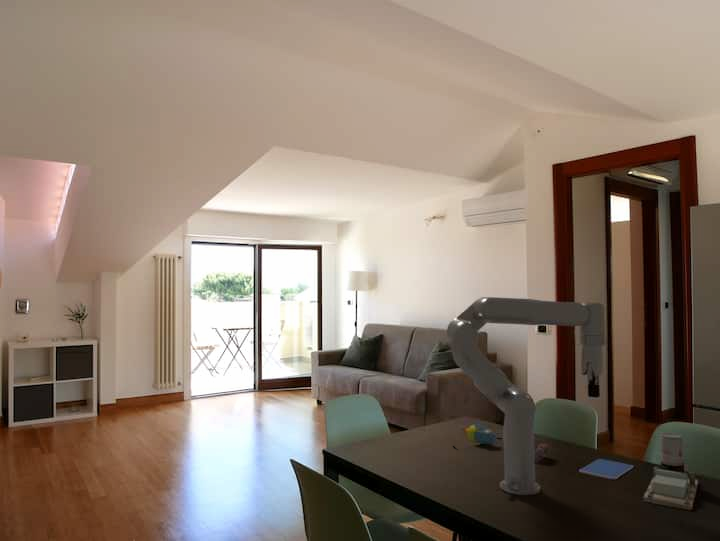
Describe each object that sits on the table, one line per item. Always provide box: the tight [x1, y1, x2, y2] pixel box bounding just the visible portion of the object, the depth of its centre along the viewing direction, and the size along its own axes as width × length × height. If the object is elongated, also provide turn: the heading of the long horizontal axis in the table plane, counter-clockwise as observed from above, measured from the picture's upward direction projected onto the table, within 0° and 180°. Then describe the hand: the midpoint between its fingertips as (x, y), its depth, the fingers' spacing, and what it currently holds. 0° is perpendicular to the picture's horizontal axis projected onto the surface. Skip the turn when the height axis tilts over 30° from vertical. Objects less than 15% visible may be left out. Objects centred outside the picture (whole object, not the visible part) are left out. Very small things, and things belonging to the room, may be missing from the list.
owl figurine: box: [461, 423, 498, 445], centre depth 228 cm, size 28×9×15 cm
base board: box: [642, 466, 699, 511], centre depth 170 cm, size 27×12×5 cm, turn 145°
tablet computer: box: [579, 458, 634, 480], centre depth 193 cm, size 19×13×1 cm, turn 136°
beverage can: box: [659, 432, 685, 473], centre depth 176 cm, size 7×6×15 cm
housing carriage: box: [653, 468, 689, 498], centre depth 168 cm, size 10×8×5 cm
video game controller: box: [534, 443, 551, 462], centre depth 205 cm, size 10×5×7 cm, turn 144°
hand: (593, 396), depth 176 cm, fingers closed
